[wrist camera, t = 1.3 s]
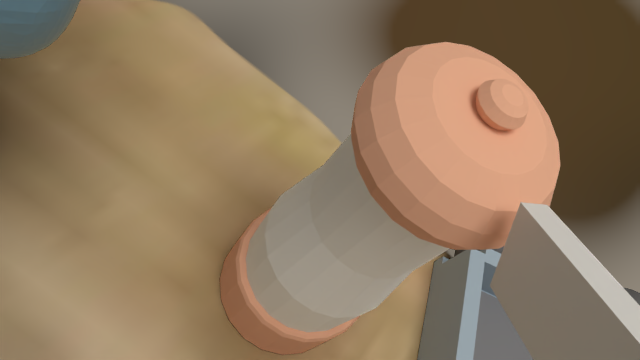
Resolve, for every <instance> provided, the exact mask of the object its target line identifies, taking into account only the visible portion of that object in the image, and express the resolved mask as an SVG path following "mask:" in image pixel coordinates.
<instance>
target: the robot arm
mask: <svg viewBox="0 0 640 360" xmlns="http://www.w3.org/2000/svg"><path fill="white" fill-rule="evenodd" d="M79 1H80V0H0V59H2V58H19V57H23V56H27V55H30V54H34V53H36V52H37V51H40V50H42V49H44V48H46V47H48V46H49V45H51V44H52V43H53V42H54V41H55V40H57V39H58V37H59V36H60V35H61V34H62V33H63V32H64V31H65V29H66V27H67V26H68V24H69V23H70V21H71V19H72V18H73V16H74V13H75V11H76V9H77V7H78V4H79ZM490 287H491V288H492V290H493V292H494V294H495V295H496V297H497V299H498V300H499V302H500V304H501V305H502V307H503V309H504V310H505V312H506V314H507V316H508V317H509V319H510V321H511V322H512V324H513V326H514V327H515V329H516V331H517V332H518V334H519V336H520V338H521V339H522V341H523V343H524V344H525V346H526V348H527V349H528V351H529V353H530V354H531V356H532V358H533V360H640V305H639V304H638V303H637V302H636V301H635V300H634V299H633V298H632V297H631V296H630V295H629V293H628V292H627V291H626V290H625V289H624V288H623V287H622V286H621V285H620V284H619V283H618V281H617V280H616V279H615V278H614V277H613V276H612V275H611V274H610V273H609V272H608V271H607V270H606V268H605V267H604V266H603V265H602V264H601V263H600V262H599V261H598V260H597V259H596V258H595V257H594V255H593V254H592V253H591V252H590V251H589V250H588V249H587V248H586V247H585V246H584V244H583V243H582V242H581V241H580V240H579V239H578V238H577V237H576V236H575V235H574V234H573V232H572V231H571V230H570V229H569V228H568V227H567V226H566V225H565V224H564V223H563V222H562V221H561V219H560V218H559V217H558V216H557V215H556V214H555V213H554V212H553V211H552V210H551V209H550V207H549V206H548V205H544V204H534V203H524V202H520V205H519V208H518V211H517V213H516V216H515V219H514V221H513V224H512V227H511V230H510V232H509V235H508V238H507V240H506V243H505V246H504V248H503V251H502V254H501V257H500V259H499V262H498V265H497V267H496V270H495V273H494V275H493V278H492V281H491V284H490Z"/></svg>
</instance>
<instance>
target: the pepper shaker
mask: <svg viewBox="0 0 640 360" xmlns="http://www.w3.org/2000/svg"><path fill="white" fill-rule="evenodd" d="M559 169H560V156H559V145H558V140H557V137H556V134H555V132H554V129H553V126H552V123H551V121H550V118H549V116H548V114H547V113H546V111H545V109H544V108H543V106H542V105H541V103H540V101H539V100H538V98H537V97H536V95H535V94H534V92H533V91H532V90H531V89H530V88H529V87H528V86H527V85H526V84H525V83H524V82H523V81H522V80H521V78H520V77H519V76H518V75H517V74H516V73H514V72H513V71H512V70H511V69H509V68H508V67H507V66H505V65H504V64H503V63H501V62H500V61H498V60H497V59H496V58H494V57H493V56H490V55H488V54H486V53H484V52H482V51H479V50H477V49H475V48H473V47H470V46H467V45H461V44H455V43H449V42H442V43H435V44H427V45H422V46H415V47H409V48H405V49H403V50H402V51H400V52H399V53H397V54H396V55H394V56H392V57H391V58H389V59H388V60H386V61H384V62H383V63H381V64H380V65H378V66H377V67H375V68H374V69H372V70H371V72H370V73H369V75H368V77H367V78H366V80H365V81H364V83H363V84H362V86H361V88H360V89H359V91H358V94H357V98H356V103H355V108H354V115H353V121H352V128H351V134H350V135H349V137H347V139H346V140H345V141H344V142H343V143H342V144H341V145H340V147H339V148H338V149H337V150H336V151H335V152H334V153H333V155H332V156H331V157H330V158H329V159H328V160H327V161H326V163H325V164H324V165H323V166H321V167H320V168H318V169H317V170H316V171H314V172H313V173H311V174H310V175H308V176H307V177H306V178H304V179H303V180H301V181H300V182H298V183H297V184H296V185H294V186H293V187H291V188H290V189H289V190H287V191H286V192H285V193H283V194H282V195H281V196H280V197H279V198H278V200H277V201H276V203H275V204H274V205H273V207H272V208H271V209H268V210H267V211H265V212H264V213H263V214H261V215H260V216H259V217H257V218H256V219H255V220H253V221H252V222H251V224H250V225H249V226H248V227H247V229H246V230H245V231H244V233H243V234H242V235H241V237H240V238H239V239H238V241H237V242H236V243H235V245H234V246H233V248H232V249H231V251H230V252H229V254H228V255H227V257H226V258H225V260H224V264H223V268H222V272H221V276H220V291H221V301H222V303H223V306H224V309H225V311H226V314H227V316H228V319H229V321H230V322H231V323H232V324H233V326H234V327H235V328H236V329H237V331H238V332H239V333H240V334H241V335H242V337H243V338H245V339H246V340H248V341H249V342H251V343H252V344H254V345H255V346H257V347H258V348H260V349H262V350H265V351H269V352H273V353H277V354H281V355H286V354H297V353H303V352H305V351H308V350H310V349H312V348H314V347H316V346H318V345H320V344H322V343H324V342H326V341H328V340H330V339H332V338H334V337H336V336H338V335H340V334H342V333H344V332H345V331H346V330H347V329H348V328H349V327H350V326H351V325H352V324H353V323H354V322H355V321H356V320H357V319H358V318H359V317H360V315H362V314H364V313H366V312H369V311H371V310H373V309H375V308H377V307H378V306H379V305H380V304H381V303H382V302H383V301H384V300H385V299H386V298H387V296H388V295H389V294H390V293H391V292H392V291H393V290H394V289H395V288H396V287H397V286H398V285H399V284H400V283H401V282H402V281H403V280H404V279H405V278H406V277H407V276H408V275H409V274H410V273H411V272H412V271H414V270H415V269H417V268H419V267H420V266H422V265H424V264H425V263H427V262H429V261H430V260H432V259H434V258H435V257H437V256H439V255H440V254H442V253H444V252H445V251H447V250H448V249H454V250H485V249H499V248H501V247H503V246H505V243H506V240H507V238H508V235H509V232H510V230H511V227H512V224H513V221H514V219H515V216H516V213H517V211H518V208H519V205H520V202H524V203H534V204H544V205H548V206H550V203H551V199H552V196H553V192H554V188H555V185H556V181H557V177H558V173H559Z"/></svg>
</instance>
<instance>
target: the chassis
mask: <svg viewBox="0 0 640 360" xmlns="http://www.w3.org/2000/svg"><path fill="white" fill-rule="evenodd" d="M503 248H504V246H503V247H501V248H499V249H485V250H455V255H454V257H453V258H451V259H447V258H445V257H442V258H440V259H438V260H436V261H435V262H434V267H433V273H432V278H431V284H430V290H429V296H428V301H427V307H426V313H425V318H424V324H423V330H422V336H421V341H420V347H419V353H418V359H417V360H533V358H532V356H531V354H530V353H529V351H528V349H527V348H526V346H525V344H524V343H523V341H522V339H521V338H520V336H519V334H518V332H517V331H516V329H515V327H514V326H513V324H512V322H511V321H510V319H509V317H508V316H507V314H506V312H505V310H504V309H503V307H502V305H501V304H500V302H499V300H498V299H497V297H496V295H495V294H494V292H493V290H492V288H491V287H490V284H491V281H492V278H493V275H494V273H495V270H496V267H497V265H498V262H499V259H500V257H501V254H502V251H503ZM624 289H625V290H626V291H627V292H628V293H629V295H630V296H631V297H632V298H633V299H634V300H635V301H636V302H637V303H638V304H639V305H640V293H638V292H636V291H634V290H631V289H628V288H624Z"/></svg>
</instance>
